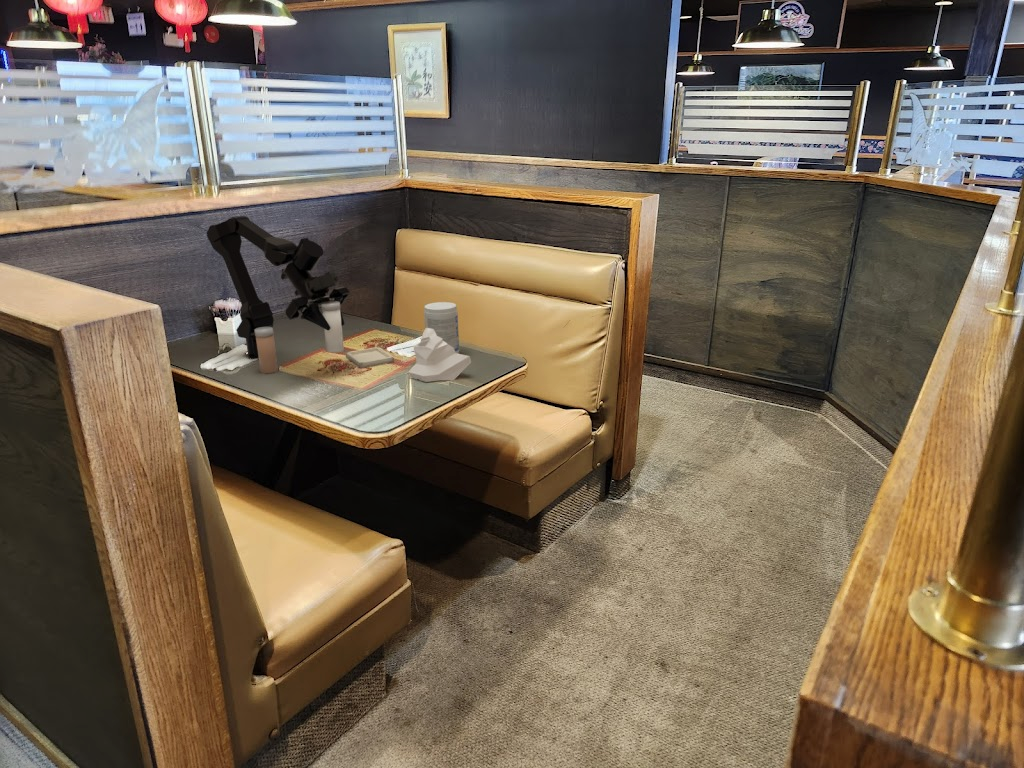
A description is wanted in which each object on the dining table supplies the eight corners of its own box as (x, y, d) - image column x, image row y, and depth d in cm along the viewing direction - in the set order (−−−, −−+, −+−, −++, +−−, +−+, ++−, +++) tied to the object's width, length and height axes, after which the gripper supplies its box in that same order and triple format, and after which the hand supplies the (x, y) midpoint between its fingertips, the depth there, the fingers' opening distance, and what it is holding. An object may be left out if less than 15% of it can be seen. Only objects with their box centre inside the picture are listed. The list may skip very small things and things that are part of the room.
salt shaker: (323, 349, 195) (318, 302, 190) (340, 346, 197) (336, 300, 192) (329, 353, 191) (324, 306, 186) (346, 350, 193) (342, 303, 189)
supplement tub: (465, 355, 210) (463, 306, 205) (436, 361, 205) (433, 311, 200) (449, 347, 218) (447, 300, 213) (421, 353, 213) (418, 304, 208)
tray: (346, 357, 210) (345, 352, 209) (378, 351, 215) (378, 346, 214) (360, 368, 200) (360, 363, 200) (394, 362, 205) (393, 357, 205)
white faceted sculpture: (439, 393, 186) (422, 344, 180) (405, 383, 196) (388, 337, 190) (473, 370, 193) (458, 322, 186) (439, 362, 203) (423, 317, 197)
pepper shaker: (258, 370, 200) (252, 328, 196) (275, 367, 202) (270, 325, 198) (262, 374, 196) (256, 332, 192) (280, 371, 198) (275, 329, 194)
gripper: (287, 268, 181) (322, 316, 179) (342, 256, 195) (375, 301, 193) (270, 295, 187) (304, 342, 185) (324, 282, 202) (356, 326, 200)
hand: (336, 327), depth 191 cm, fingers closed on salt shaker, 5 cm apart
